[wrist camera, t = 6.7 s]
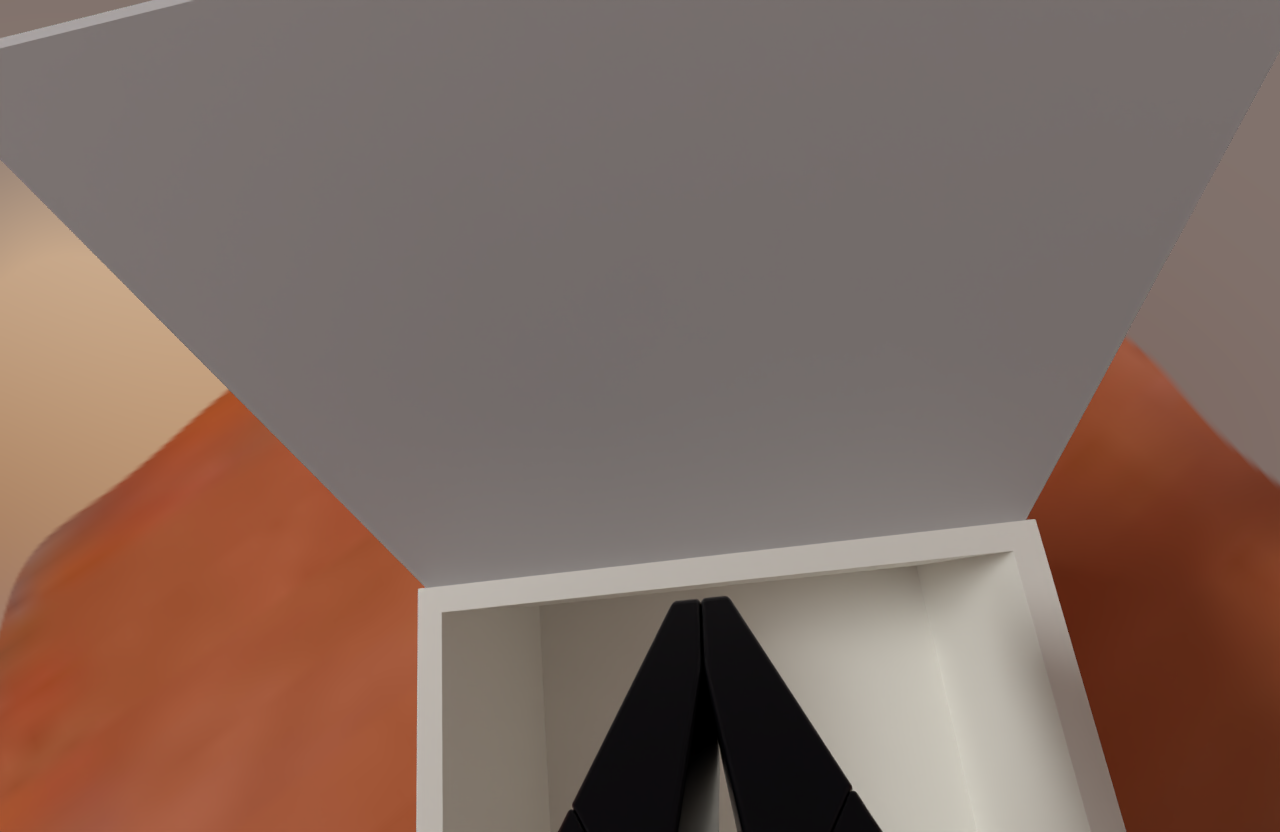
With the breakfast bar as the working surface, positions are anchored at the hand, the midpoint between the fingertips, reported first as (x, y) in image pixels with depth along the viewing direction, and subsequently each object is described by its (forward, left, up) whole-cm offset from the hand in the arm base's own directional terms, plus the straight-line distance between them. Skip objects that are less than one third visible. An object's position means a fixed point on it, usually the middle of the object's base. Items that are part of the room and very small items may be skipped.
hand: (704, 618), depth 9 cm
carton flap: (+3, -2, +1) cm, 4 cm away
